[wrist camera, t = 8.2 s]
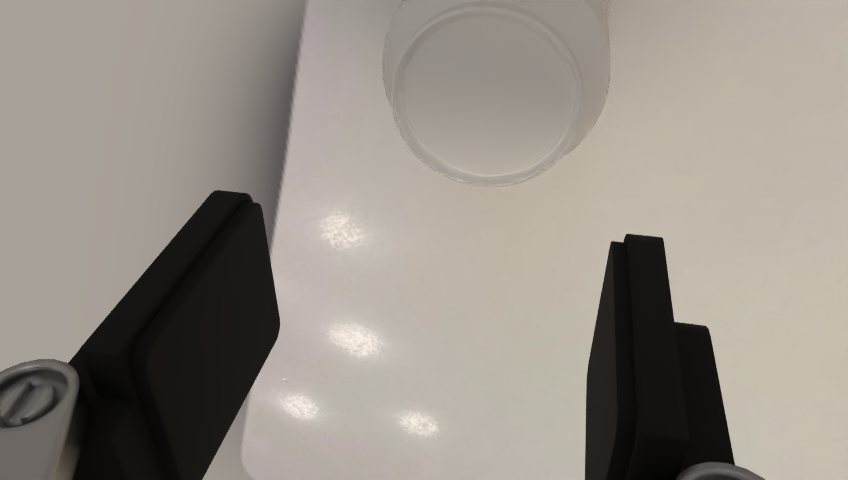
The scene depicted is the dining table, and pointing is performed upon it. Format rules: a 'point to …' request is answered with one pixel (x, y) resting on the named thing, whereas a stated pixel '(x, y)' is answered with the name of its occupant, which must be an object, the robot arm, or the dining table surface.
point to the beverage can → (496, 83)
